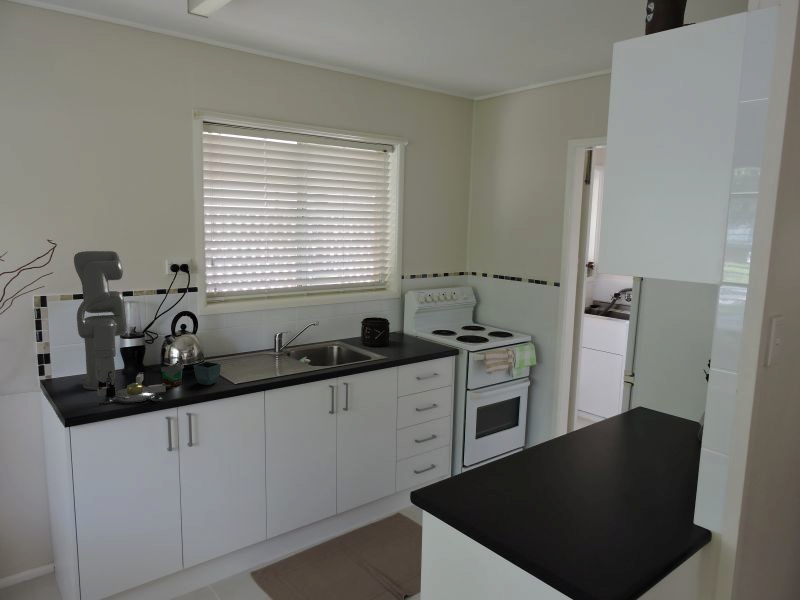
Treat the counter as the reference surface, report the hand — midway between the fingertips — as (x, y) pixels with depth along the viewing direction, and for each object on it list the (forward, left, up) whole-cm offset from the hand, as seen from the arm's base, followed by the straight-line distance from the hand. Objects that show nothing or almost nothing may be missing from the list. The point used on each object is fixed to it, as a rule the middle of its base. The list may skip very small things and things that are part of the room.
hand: (107, 394), depth 233 cm
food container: (+10, +30, -4) cm, 32 cm away
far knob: (+16, +10, -2) cm, 19 cm away
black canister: (+66, +146, -4) cm, 160 cm away
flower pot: (+21, +38, -4) cm, 43 cm away
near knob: (0, 0, -2) cm, 2 cm away
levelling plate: (+8, +10, -4) cm, 13 cm away
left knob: (0, +19, -2) cm, 19 cm away
